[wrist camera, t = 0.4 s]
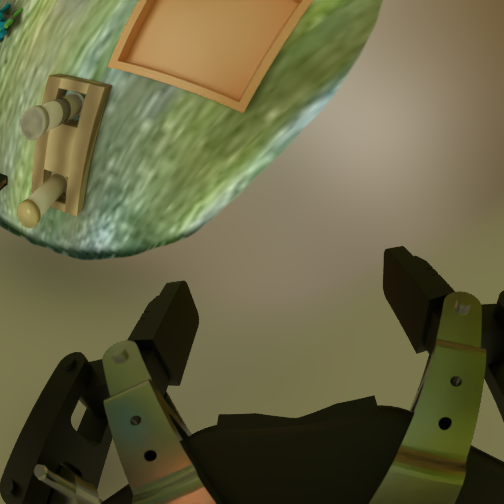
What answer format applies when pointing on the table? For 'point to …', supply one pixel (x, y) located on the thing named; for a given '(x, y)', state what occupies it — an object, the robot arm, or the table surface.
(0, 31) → the gear
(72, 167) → the fuse block
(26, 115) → the white domed cylinder
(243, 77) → the parts tray
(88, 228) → the table surface
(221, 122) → the table surface
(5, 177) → the ammunition clip
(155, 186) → the table surface
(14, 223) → the table surface
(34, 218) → the fuse
